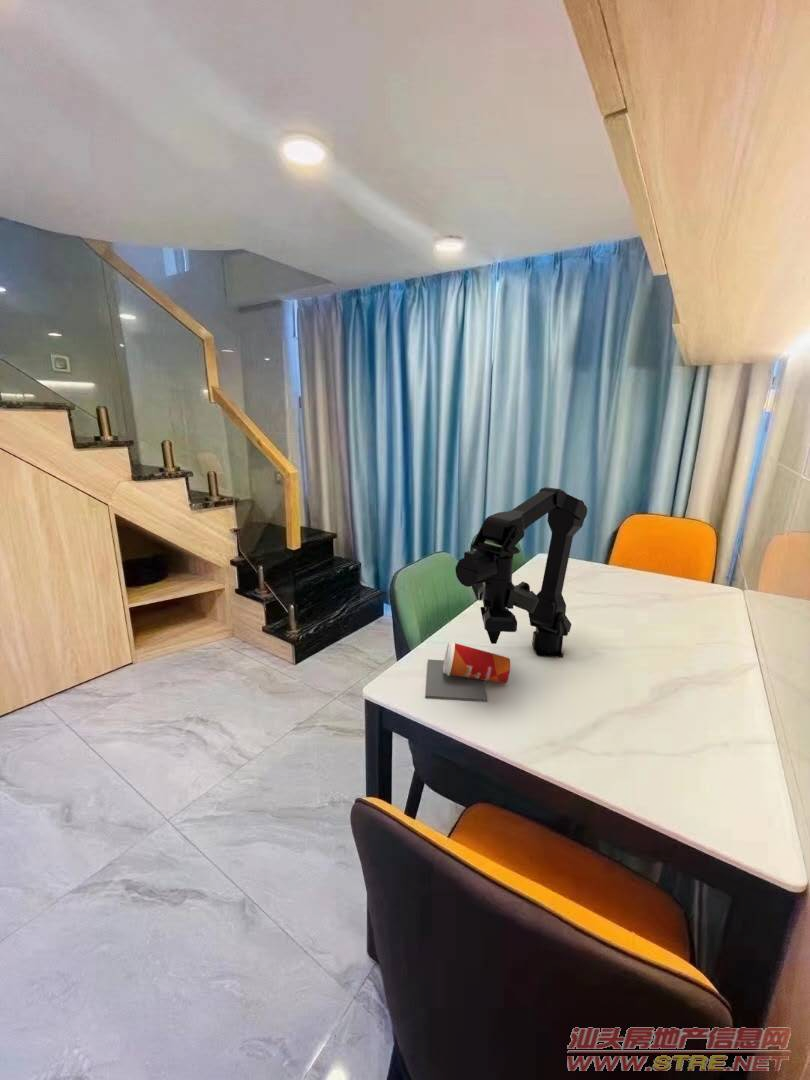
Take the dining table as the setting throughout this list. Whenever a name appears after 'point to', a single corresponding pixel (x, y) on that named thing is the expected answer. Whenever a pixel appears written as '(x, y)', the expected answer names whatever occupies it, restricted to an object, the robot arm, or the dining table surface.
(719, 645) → the dining table surface
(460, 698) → the mat
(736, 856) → the dining table surface
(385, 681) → the dining table surface
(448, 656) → the paper cup
